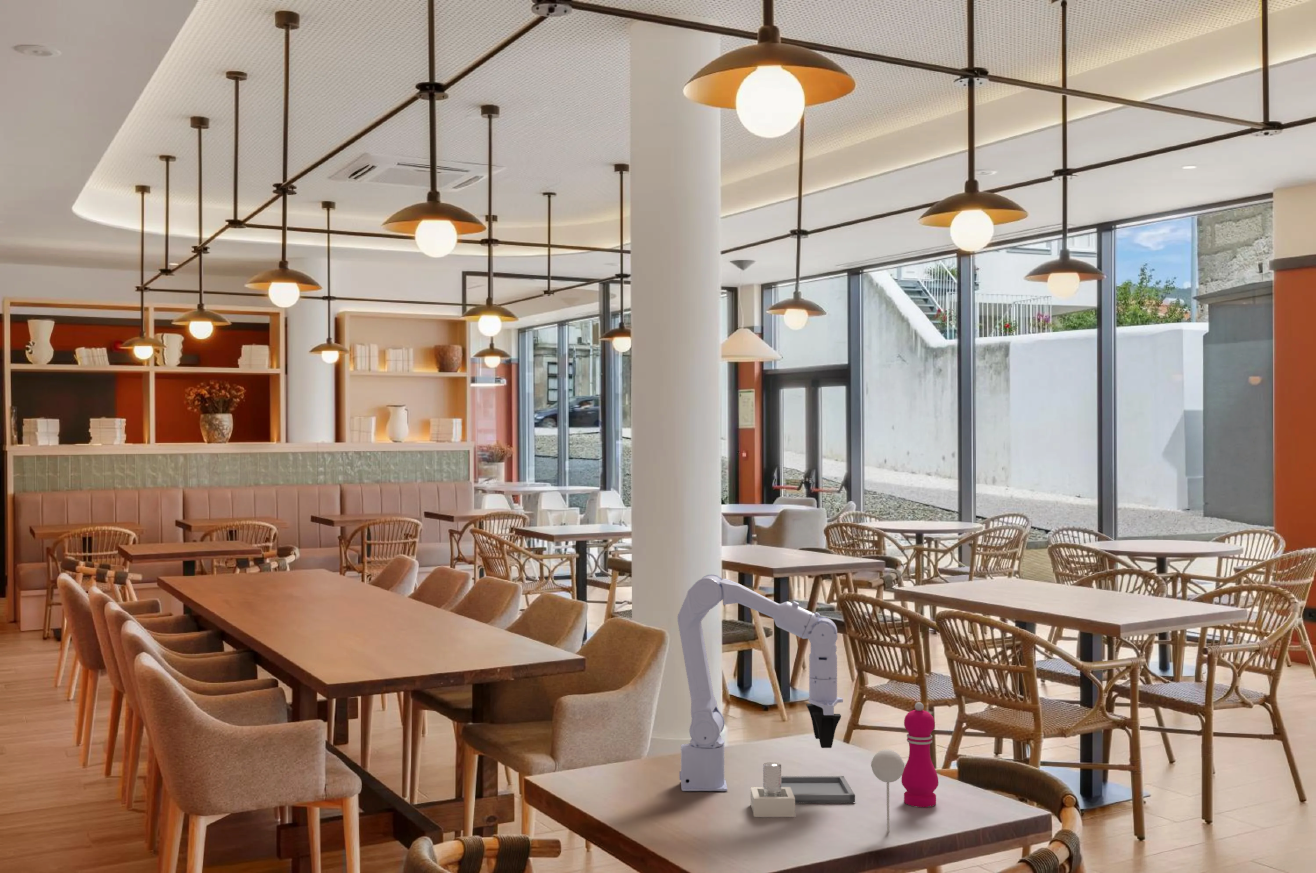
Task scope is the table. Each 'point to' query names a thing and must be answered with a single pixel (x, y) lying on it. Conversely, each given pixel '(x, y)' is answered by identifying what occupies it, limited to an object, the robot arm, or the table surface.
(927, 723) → the pepper mill
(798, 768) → the table surface
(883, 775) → the lollipop
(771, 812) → the white hollow block
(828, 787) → the tray
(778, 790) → the steel pin
